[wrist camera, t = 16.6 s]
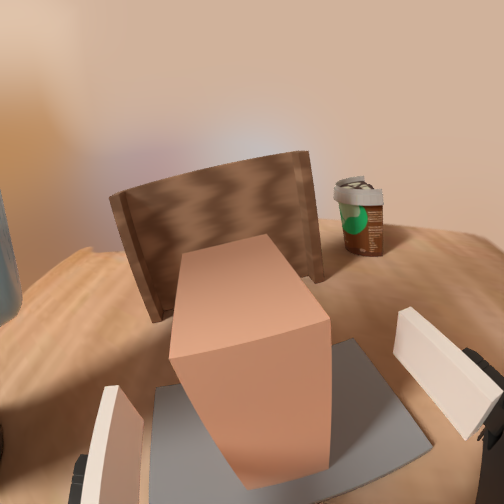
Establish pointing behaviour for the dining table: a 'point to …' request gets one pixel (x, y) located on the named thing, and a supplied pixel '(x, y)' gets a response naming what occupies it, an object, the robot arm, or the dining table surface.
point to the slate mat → (302, 489)
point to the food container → (361, 216)
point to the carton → (255, 360)
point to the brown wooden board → (218, 219)
